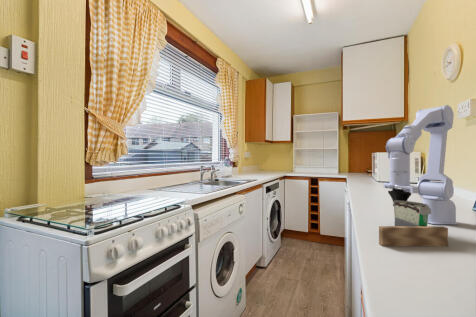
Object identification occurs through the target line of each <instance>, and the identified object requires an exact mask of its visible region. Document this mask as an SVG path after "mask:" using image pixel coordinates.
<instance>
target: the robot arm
mask: <svg viewBox="0 0 476 317" xmlns="http://www.w3.org/2000/svg"><path fill="white" fill-rule="evenodd" d="M454 114H455V113H454V111H453V109H452V107H451V106H450V104H449V105H448V104H445V105H442V106H436V107H431V108H424V109H418V110H417V111H416V112H415V119H414V121H413V122H412V124H409V125H405V126H403V129H402V130H401V131H399V133H397V134H396V136H395V137H391V138H390V139H388V140H387V141H386V145H385V151H386V153H387V157H388V158H387V159H389V182H383V188H384V189H388V191H387V193H388V194H389V196H390V198H391V200H392V203H393V202H394V200H399V201H408V199H409V198H410V197H411V196H412V194H418V196H419V197H420V198H421V199H422V202H421V203H423V204H427V205H429V207H430V209H431V214H428V223H427V224H430V225H459V223H458V222H457V221H456V220H457V207H456V204H455V202H454V201H453V200H451V198H452V197H453V196H454V190H455V189H454V182H453V180H452V178H451V177H449V176H447V175H446V174H445V173H444V172H445V162H446V152H447V151H446V150H447V140H448V139H447V138H448V131H449V130H451V129H453V125H454V116H455V115H454ZM422 131H424V132H427V133H429V135H430V136H429V137H430V138H429V145H428V146H429V147H428V148H429V149H428V156H427V157H428V159H427V165H426V166H427V167H426V173H424V174H422V175H420V176H419V178H418V182H417V184H416V186H415V185H411V181H410V180H411V154H412V153H413V152H414V150H415V145H416V142H417V141H418V140H419V138H420V137H422V133H423V132H422ZM389 189H390V190H389Z"/></svg>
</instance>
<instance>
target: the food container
mask: <svg viewBox="0 0 476 317" xmlns="http://www.w3.org/2000/svg"><path fill="white" fill-rule="evenodd" d="M392 207H393V210H394V211H393V212H394V219H395V218H400V219H402V220H405V221H408V222H411V223H414V224H416V225H419V226H428V224H429V223H428V214H431V209H430V207H429V205H427V204H423V202H417V201H408V200H407V201H399V200H394V202H393V201H392Z"/></svg>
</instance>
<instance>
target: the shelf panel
mask: <svg viewBox="0 0 476 317" xmlns="http://www.w3.org/2000/svg"><path fill="white" fill-rule="evenodd" d="M378 244H379V245H380V246H381V247H449V228H448V227H446V226H442V225H441V226H439V225H438V226H436V225H435V226H433V225H432V226H431V225H430V226H428V225H427V226H395V225H383V226H382V225H380V226H379V225H378Z"/></svg>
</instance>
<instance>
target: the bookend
mask: <svg viewBox="0 0 476 317" xmlns="http://www.w3.org/2000/svg"><path fill="white" fill-rule="evenodd" d="M394 226H419V225H416V224H414V223H411V222H408V221H405V220H402V219H400V218H395V217H394Z"/></svg>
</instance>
